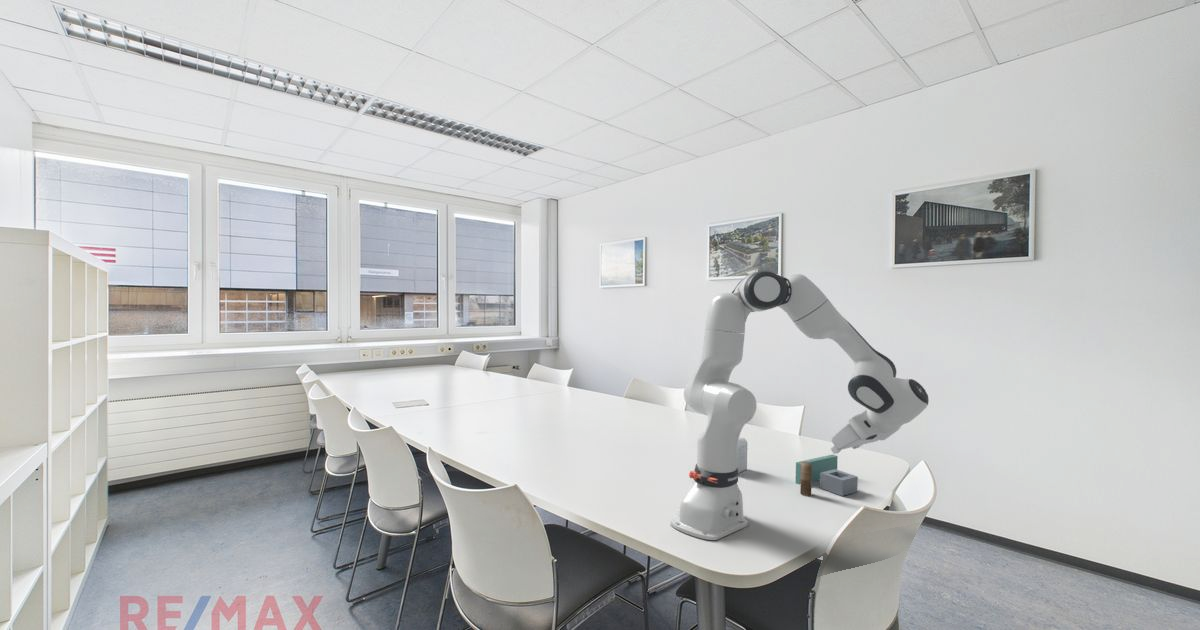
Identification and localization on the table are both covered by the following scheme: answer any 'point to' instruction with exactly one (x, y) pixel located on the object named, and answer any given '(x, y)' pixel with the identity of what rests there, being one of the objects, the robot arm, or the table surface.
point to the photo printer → (742, 454)
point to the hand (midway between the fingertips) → (843, 449)
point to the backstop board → (818, 466)
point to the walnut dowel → (806, 478)
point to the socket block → (838, 482)
